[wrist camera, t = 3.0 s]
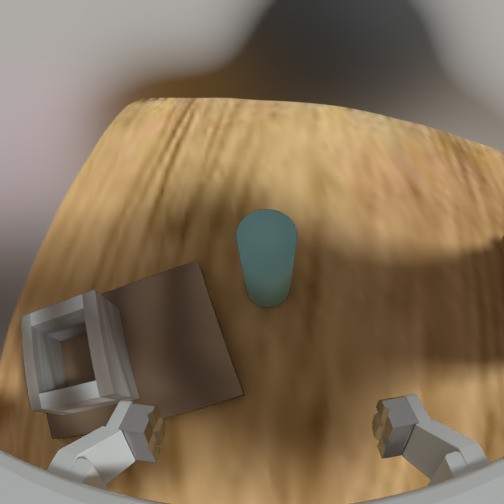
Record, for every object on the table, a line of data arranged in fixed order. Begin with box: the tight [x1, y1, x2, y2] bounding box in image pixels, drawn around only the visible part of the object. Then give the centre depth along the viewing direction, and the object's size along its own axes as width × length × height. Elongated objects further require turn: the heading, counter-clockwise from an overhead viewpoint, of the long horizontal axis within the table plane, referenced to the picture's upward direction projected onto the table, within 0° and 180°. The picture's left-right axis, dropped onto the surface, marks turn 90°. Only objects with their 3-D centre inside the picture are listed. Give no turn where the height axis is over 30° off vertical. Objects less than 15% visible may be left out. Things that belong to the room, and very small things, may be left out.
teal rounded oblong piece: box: [236, 209, 297, 307], centre depth 24 cm, size 4×4×8 cm
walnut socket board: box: [21, 261, 244, 439], centre depth 22 cm, size 18×12×6 cm, turn 110°
